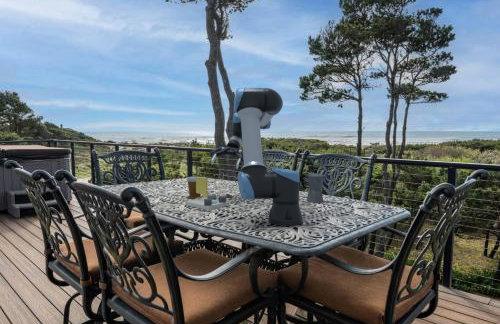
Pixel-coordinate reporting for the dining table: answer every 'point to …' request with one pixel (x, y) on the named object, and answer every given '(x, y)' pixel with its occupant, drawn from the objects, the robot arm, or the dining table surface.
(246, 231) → the dining table surface
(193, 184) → the disposable coffee cup
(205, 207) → the base
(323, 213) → the dining table surface
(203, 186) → the yellow flat slab
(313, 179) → the coffeepot
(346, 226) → the dining table surface
